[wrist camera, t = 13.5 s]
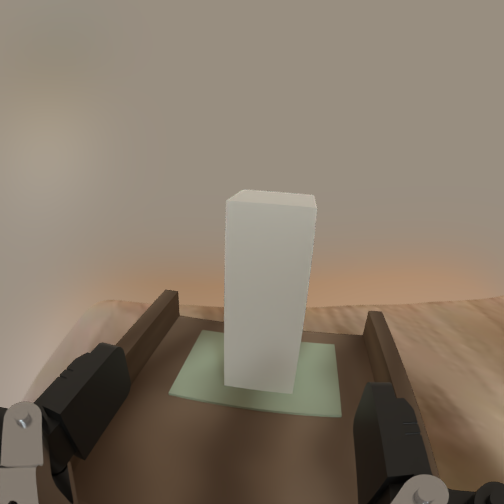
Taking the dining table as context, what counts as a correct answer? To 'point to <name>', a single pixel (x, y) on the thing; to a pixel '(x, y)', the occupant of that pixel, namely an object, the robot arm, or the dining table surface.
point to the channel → (236, 419)
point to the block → (266, 287)
